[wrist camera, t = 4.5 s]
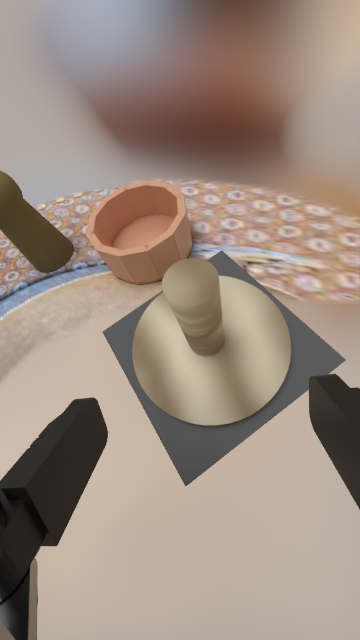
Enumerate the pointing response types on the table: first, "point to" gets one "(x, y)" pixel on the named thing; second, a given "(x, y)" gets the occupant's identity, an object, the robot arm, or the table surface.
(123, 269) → the bowl
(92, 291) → the table surface
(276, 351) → the lid
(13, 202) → the olive pawn
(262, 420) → the mat
